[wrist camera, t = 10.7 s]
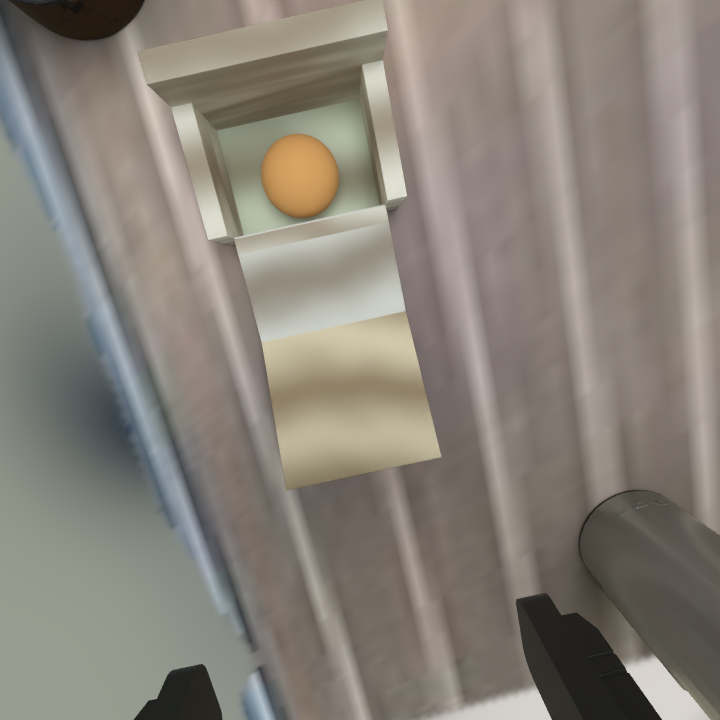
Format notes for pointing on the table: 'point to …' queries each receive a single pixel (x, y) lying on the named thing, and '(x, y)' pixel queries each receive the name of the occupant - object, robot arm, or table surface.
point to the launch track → (309, 229)
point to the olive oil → (80, 15)
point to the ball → (300, 175)
